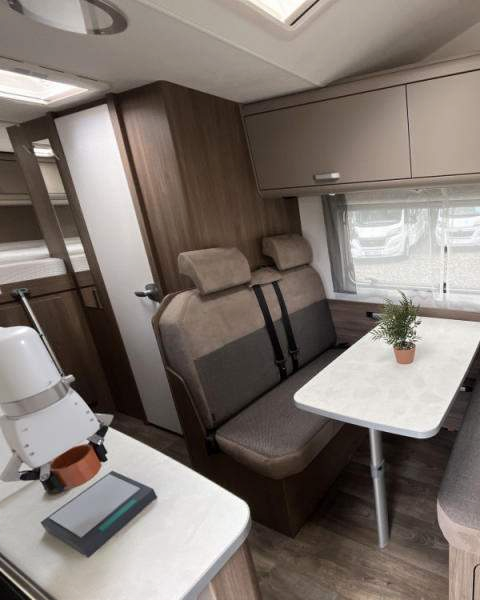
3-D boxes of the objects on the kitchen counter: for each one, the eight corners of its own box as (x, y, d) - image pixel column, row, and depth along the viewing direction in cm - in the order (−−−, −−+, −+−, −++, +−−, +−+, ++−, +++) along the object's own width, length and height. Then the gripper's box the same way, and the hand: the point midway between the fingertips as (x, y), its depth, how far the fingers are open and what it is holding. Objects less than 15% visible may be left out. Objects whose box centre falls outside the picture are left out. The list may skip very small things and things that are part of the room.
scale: (46, 530, 60) (38, 520, 59) (116, 478, 71) (111, 469, 70) (88, 557, 56) (81, 547, 55) (157, 497, 66) (152, 487, 65)
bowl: (53, 485, 58) (40, 465, 57) (91, 459, 64) (81, 440, 62) (71, 494, 56) (58, 474, 54) (109, 467, 61) (99, 448, 60)
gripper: (84, 366, 62) (119, 436, 68) (-56, 428, 47) (6, 510, 54) (107, 372, 59) (141, 444, 66) (-34, 440, 44) (28, 524, 51)
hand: (80, 473), depth 60 cm, fingers closed on bowl, 6 cm apart
